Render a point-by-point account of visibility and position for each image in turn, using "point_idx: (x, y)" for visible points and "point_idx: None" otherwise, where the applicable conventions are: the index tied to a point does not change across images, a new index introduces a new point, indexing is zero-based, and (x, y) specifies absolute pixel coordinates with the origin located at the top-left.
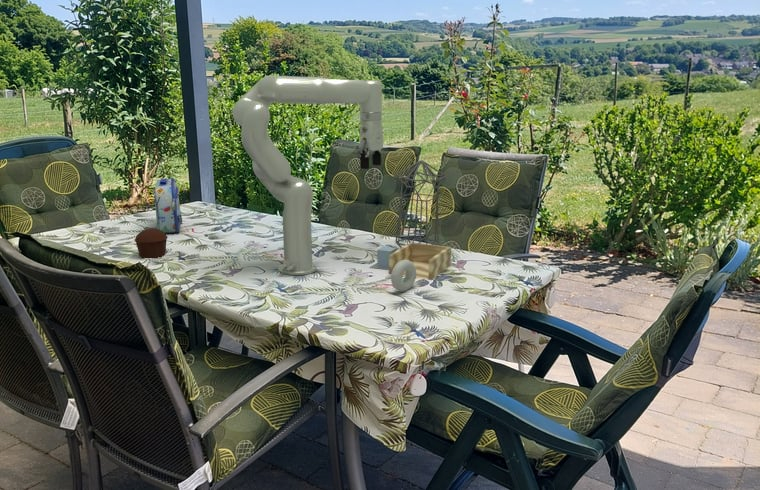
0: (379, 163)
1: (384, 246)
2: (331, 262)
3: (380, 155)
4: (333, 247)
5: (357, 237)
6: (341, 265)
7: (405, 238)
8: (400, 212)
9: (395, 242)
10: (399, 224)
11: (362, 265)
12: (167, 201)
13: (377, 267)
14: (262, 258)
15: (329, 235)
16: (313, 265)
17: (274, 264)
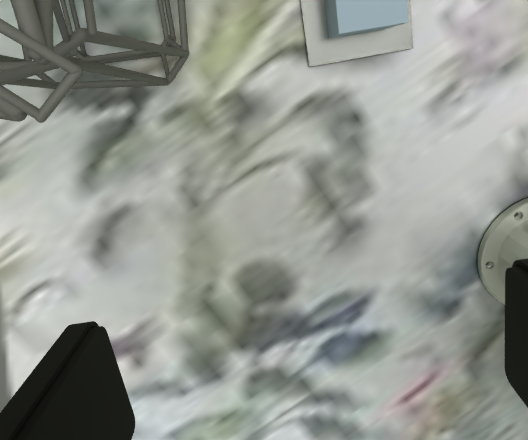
0: (96, 343)
1: (338, 29)
2: (405, 219)
3: (12, 436)
4: (240, 324)
5: None
6: (420, 168)
7: (86, 81)
8: (134, 43)
9: (169, 83)
10: (159, 49)
11: (381, 103)
12: None
13: None
14: (472, 413)
15: None
16: (509, 226)
17: None
